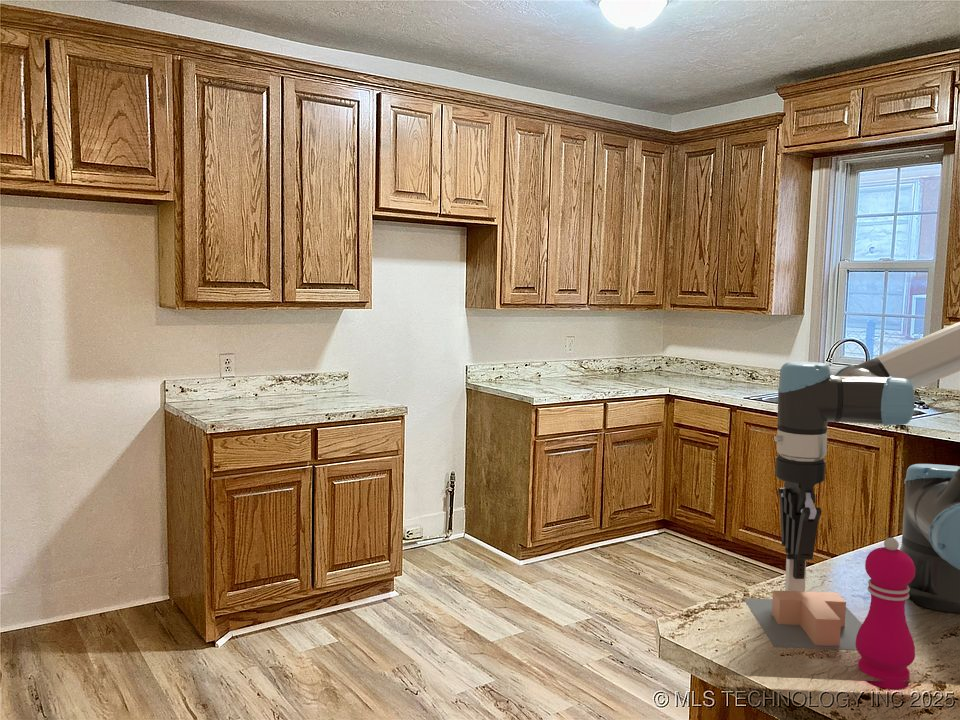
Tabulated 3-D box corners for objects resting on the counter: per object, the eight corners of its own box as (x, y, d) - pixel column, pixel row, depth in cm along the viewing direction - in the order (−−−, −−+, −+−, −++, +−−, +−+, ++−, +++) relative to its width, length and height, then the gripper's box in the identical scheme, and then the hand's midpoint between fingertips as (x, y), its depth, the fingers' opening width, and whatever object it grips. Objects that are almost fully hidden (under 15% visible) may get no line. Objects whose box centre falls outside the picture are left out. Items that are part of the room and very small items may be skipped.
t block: (836, 616, 120) (837, 592, 120) (862, 646, 110) (864, 620, 110) (771, 614, 121) (772, 590, 120) (792, 644, 111) (793, 618, 111)
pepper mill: (888, 696, 99) (897, 550, 97) (842, 670, 106) (849, 533, 104) (925, 685, 102) (935, 542, 100) (878, 660, 109) (886, 526, 106)
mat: (840, 608, 126) (840, 601, 126) (887, 658, 109) (887, 651, 109) (742, 604, 127) (743, 598, 127) (774, 654, 110) (774, 646, 110)
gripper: (764, 447, 130) (759, 578, 132) (791, 465, 117) (785, 610, 119) (808, 447, 129) (803, 579, 132) (840, 466, 116) (833, 611, 119)
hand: (794, 594), depth 126 cm, fingers closed
